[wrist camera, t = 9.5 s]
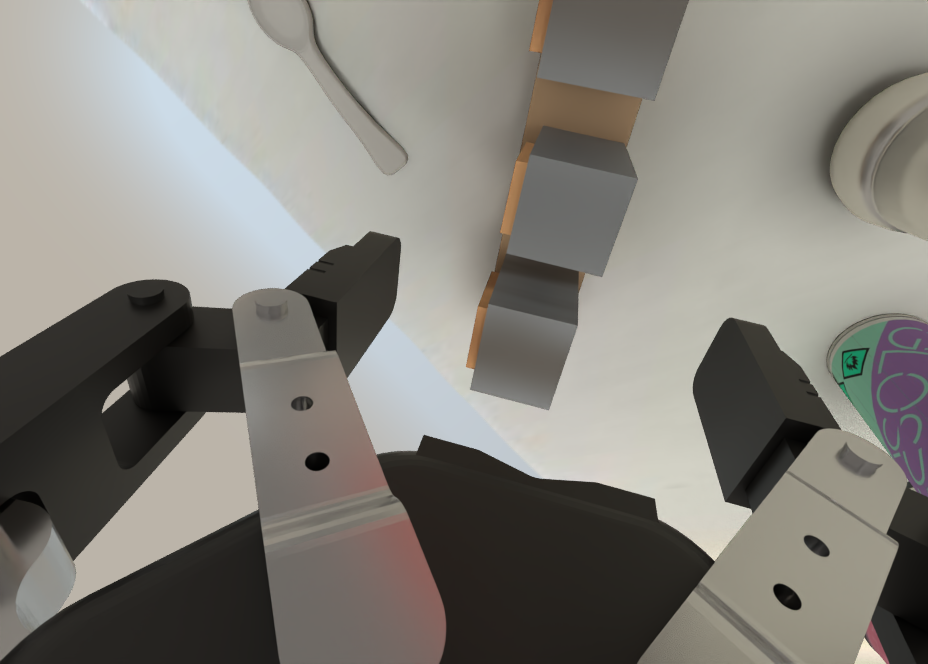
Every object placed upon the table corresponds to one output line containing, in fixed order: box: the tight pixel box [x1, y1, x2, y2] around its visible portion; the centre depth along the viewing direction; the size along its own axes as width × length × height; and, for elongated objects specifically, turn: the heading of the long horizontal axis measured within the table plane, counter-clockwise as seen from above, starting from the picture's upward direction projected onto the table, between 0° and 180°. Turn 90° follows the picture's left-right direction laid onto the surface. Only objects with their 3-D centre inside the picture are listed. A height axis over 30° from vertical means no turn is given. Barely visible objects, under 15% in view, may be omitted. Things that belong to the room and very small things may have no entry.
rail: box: [466, 0, 689, 410], centre depth 23 cm, size 22×5×10 cm, turn 171°
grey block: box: [500, 125, 638, 277], centre depth 21 cm, size 4×4×7 cm
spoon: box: [248, 0, 408, 175], centre depth 27 cm, size 3×12×2 cm, turn 36°
